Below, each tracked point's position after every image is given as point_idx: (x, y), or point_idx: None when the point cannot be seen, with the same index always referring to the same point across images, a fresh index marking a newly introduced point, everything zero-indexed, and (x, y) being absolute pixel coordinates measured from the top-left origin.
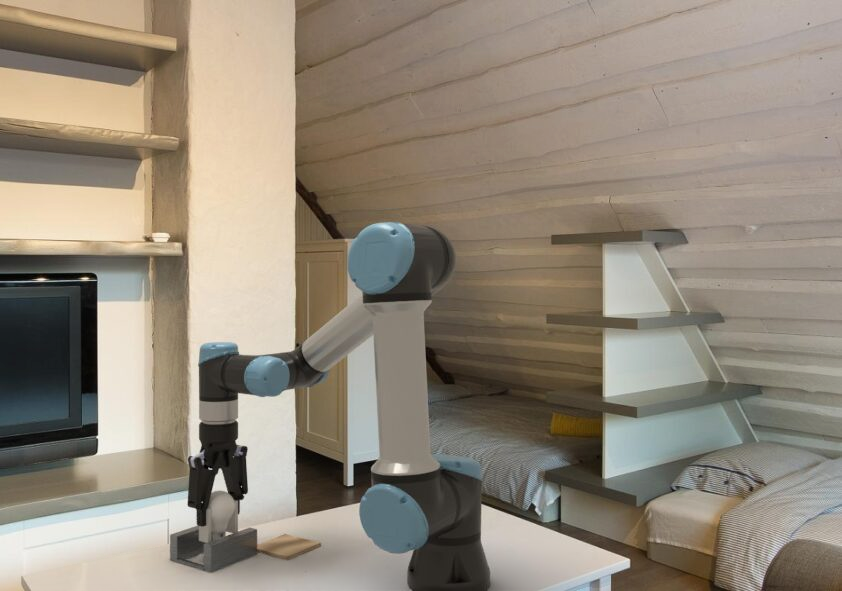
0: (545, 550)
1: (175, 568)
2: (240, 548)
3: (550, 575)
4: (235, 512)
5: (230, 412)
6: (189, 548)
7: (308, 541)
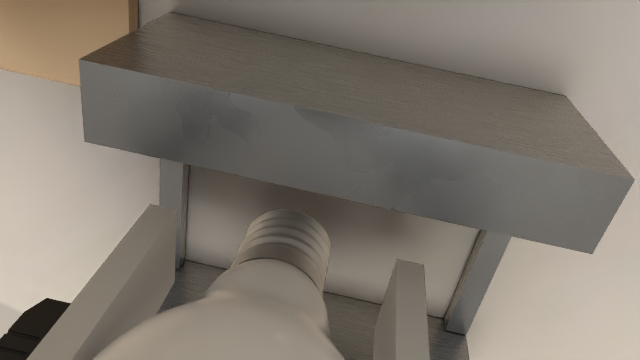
0: None
1: (545, 292)
2: (303, 66)
3: None
4: (92, 322)
5: None
6: None
7: None
